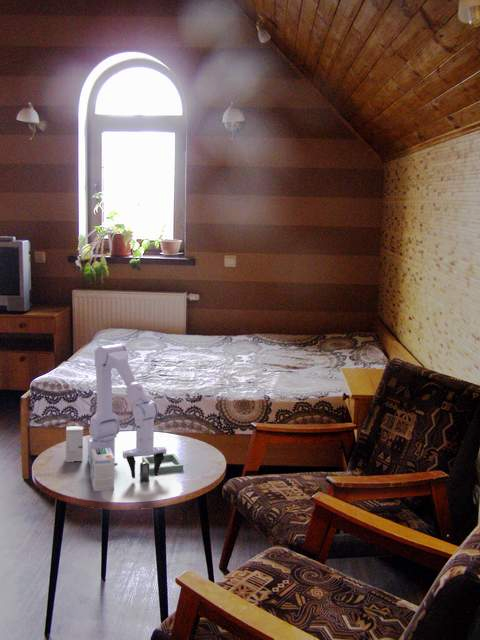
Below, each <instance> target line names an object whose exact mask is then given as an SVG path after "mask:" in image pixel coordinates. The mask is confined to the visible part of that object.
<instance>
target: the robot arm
mask: <svg viewBox="0 0 480 640" xmlns="http://www.w3.org/2000/svg"><path fill="white" fill-rule="evenodd" d="M128 359H129V352H128V349H127V347H126V345H125V344H124V343H121V342H120V343H118V344H117V343H116V344H115V343H114V344H109V345H100V346H98V347H97V348H96V349H95V350H94V367H95V371H96V372H95V375H96V379H95V381H96V409H97V410H96V412H95V414H93V416H91V418H90V424H89V426H88V432H89V435H90V438H91V439H88V441H87V462H88V464H89V466H90V467H91V449H102V448H110V449H111V451H112V454H113V456H114V465H117V464H118V461H117V459H116V457H115V456H116V455H115V452H116V451H115V450H116V449H115V446H116V444H115V443H116V441H115V440H116V439H115V438H117V435H118V434H119V433H120V430H121V427H120V423H119V416H118V415H117V414H116V413H115V412H113V391H112V387H113V386H112V381H113V380H112V369H116V371H117V373H118V375H119V376H120V378H121V379H122V381H123V382H124V384H125V386H126V389H125V393H126V395H127V398H128V399H129V401H130V403H131V405H132V407H133V410H132V416H133V419H134V424H135V426H136V434H135V436H136V439H135V440H136V441H135V442H136V444H135V445H136V446H135V447H136V448H133V449H127V450H123V451H122V458H123V459H126V461H127V463H128V467H129V469H130V473H131V478H132V479H136V460H135V457H145V456H154V462H153V463H154V464H153V467H154V474H153V475H154V476H155V477H157V476H158V474H159V473H158V470H159V467H160V466H161V465H162V463H163V462H164V461H163V460H164V456H163V455H165V454H167V448H166V446H164V447H162V446H160V447H159V446H154V438H155V437H154V434H155V433H154V432H155V431H154V430H155V428H154V427H155V425H154V424H155V423H154V421H155V418H156V417H157V416H158V412H159V411H158V407H157V403H156V402H155V401H153V400H152V399H151V398H149V397H148V395H147V393H146V391H145V389H144V387H143V384H141V383H140V382H137V380H136V378H135V376H134V373H133V371H132V368H131V366H130V363H129V361H128Z"/></svg>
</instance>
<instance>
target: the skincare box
mask: <svg viewBox="0 0 480 640" xmlns="http://www.w3.org/2000/svg"><path fill="white" fill-rule="evenodd" d="M83 443H84V426H83V425H79V426H78V425H77V426H76V425H75V426H74V425H73V426H66V429H65V462H66V463H73V462H74V461H81V462H83V455H84V454H83V450H84V449H83V448H84V447H83V446H84V445H83Z"/></svg>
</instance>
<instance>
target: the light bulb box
mask: <svg viewBox="0 0 480 640" xmlns="http://www.w3.org/2000/svg"><path fill="white" fill-rule="evenodd" d="M90 481H91V486H92V489H93V492H101V491H100V490H102V491H110V490H111V491H112V490H115V464H114V456H113V454H112V451H111V449H110V448H102V449H91V466H90Z"/></svg>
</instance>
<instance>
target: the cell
mask: <svg viewBox="0 0 480 640" xmlns="http://www.w3.org/2000/svg"><path fill="white" fill-rule="evenodd" d="M149 463H150V462H149ZM149 463H148V462H140V463H139V472H140V473H139V482H141V483H148V482H150V474H149Z"/></svg>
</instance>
